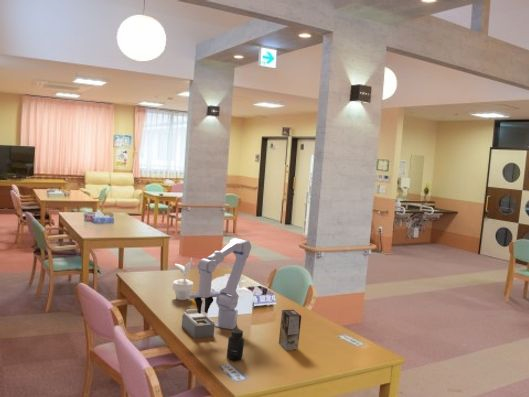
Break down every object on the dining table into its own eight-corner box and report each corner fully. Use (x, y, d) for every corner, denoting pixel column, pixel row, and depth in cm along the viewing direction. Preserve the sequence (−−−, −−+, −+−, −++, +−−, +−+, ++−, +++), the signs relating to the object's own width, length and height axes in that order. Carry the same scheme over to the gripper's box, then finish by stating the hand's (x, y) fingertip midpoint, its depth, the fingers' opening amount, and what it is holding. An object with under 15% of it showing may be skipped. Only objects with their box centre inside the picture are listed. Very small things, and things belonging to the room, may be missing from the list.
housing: (181, 326, 240) (182, 312, 239) (200, 324, 245) (201, 310, 244) (193, 338, 226) (195, 323, 225) (213, 336, 231) (215, 321, 230)
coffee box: (298, 349, 225) (302, 315, 224) (285, 350, 223) (289, 316, 221) (290, 342, 233) (293, 309, 232) (277, 342, 231) (281, 309, 230)
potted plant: (196, 299, 284) (200, 256, 282) (182, 303, 274) (186, 259, 272) (179, 294, 291) (183, 252, 289) (166, 297, 281) (169, 255, 279)
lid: (185, 314, 240) (186, 309, 239) (199, 313, 243) (199, 308, 243) (191, 319, 234) (191, 314, 233) (204, 317, 237) (205, 313, 237)
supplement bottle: (230, 362, 204) (232, 334, 203) (223, 355, 210) (226, 328, 209) (245, 360, 207) (247, 333, 206) (238, 354, 213) (241, 327, 212)
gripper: (193, 287, 223) (191, 316, 224) (222, 286, 230) (220, 314, 231) (188, 283, 229) (185, 311, 230) (216, 282, 236) (214, 309, 237)
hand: (202, 312), depth 231 cm, fingers open, 3 cm apart
